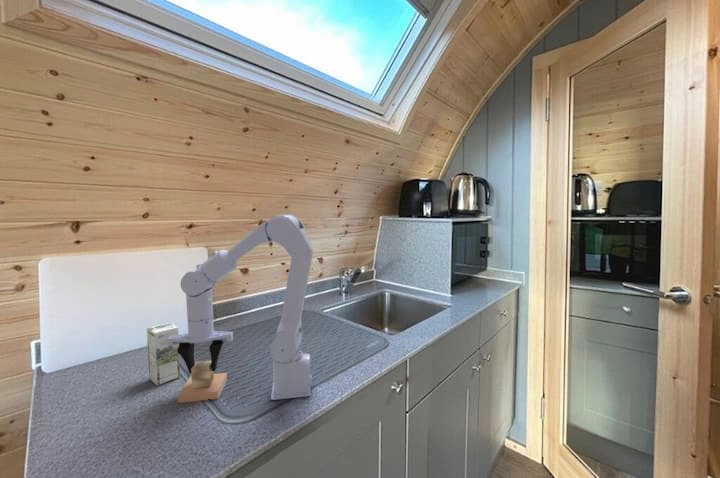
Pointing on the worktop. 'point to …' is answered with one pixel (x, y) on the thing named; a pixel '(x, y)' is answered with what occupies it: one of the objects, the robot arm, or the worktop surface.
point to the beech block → (202, 374)
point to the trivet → (203, 390)
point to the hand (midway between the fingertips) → (203, 370)
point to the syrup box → (162, 354)
